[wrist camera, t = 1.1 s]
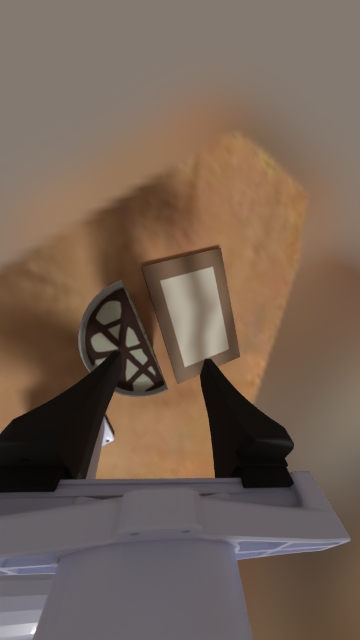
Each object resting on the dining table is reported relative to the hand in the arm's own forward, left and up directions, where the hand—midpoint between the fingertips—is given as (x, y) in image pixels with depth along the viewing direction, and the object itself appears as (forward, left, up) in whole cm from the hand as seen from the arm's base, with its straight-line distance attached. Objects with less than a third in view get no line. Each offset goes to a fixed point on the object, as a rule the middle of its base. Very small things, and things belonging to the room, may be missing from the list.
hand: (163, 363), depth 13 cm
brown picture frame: (+8, 0, -12) cm, 14 cm away
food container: (-4, +2, -12) cm, 13 cm away
